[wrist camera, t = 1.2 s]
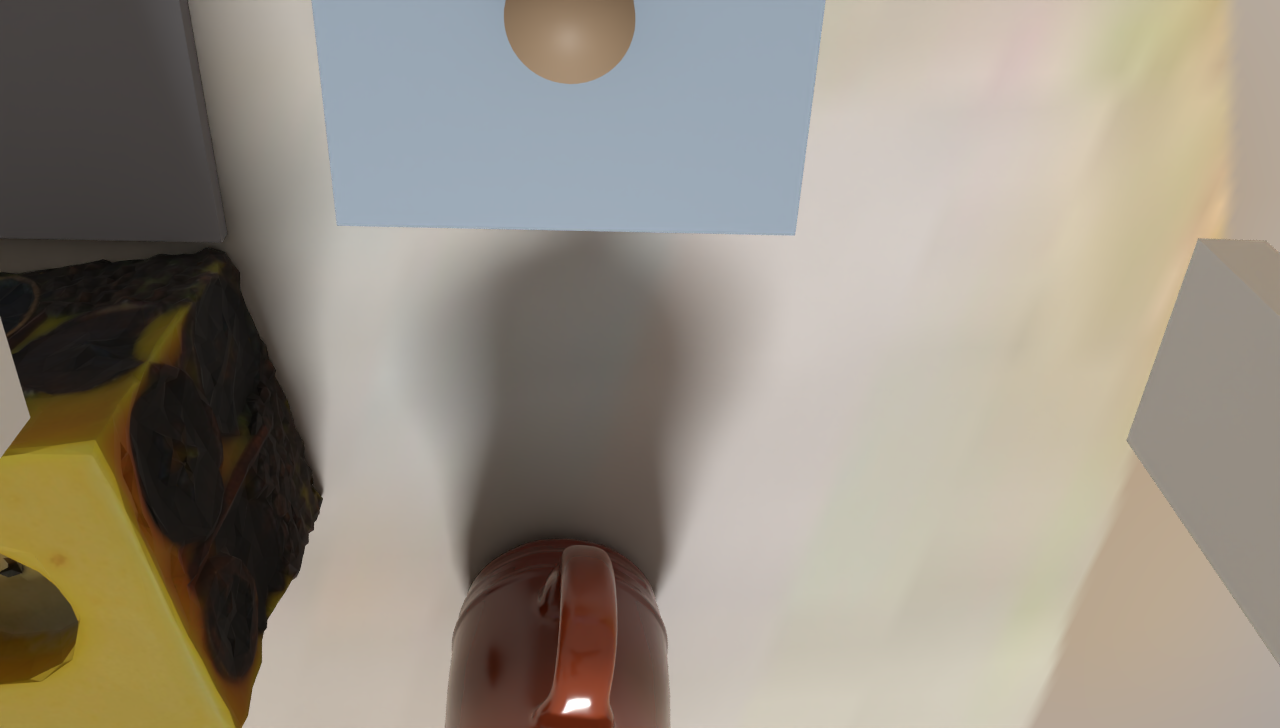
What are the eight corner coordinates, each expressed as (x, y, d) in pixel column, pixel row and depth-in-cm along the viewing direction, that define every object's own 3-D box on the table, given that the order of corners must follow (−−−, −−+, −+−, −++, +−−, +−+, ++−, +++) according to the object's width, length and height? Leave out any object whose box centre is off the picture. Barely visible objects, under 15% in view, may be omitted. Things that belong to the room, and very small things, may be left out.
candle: (328, 503, 38) (255, 744, 30) (40, 538, 38) (-114, 786, 30) (234, 236, 32) (112, 437, 24) (-101, 279, 33) (-338, 493, 24)
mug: (658, 690, 43) (675, 946, 35) (433, 672, 42) (394, 931, 34) (720, 447, 37) (760, 685, 29) (458, 418, 36) (418, 656, 27)
